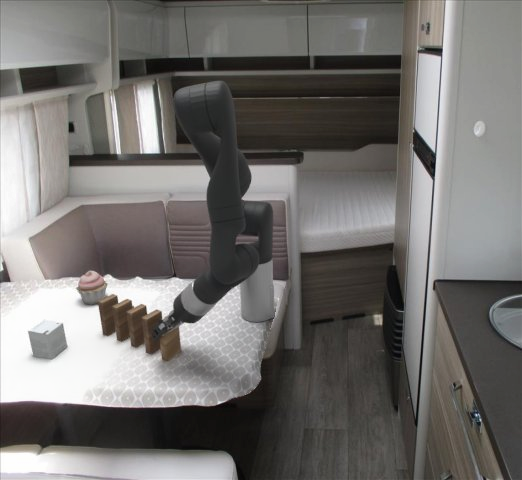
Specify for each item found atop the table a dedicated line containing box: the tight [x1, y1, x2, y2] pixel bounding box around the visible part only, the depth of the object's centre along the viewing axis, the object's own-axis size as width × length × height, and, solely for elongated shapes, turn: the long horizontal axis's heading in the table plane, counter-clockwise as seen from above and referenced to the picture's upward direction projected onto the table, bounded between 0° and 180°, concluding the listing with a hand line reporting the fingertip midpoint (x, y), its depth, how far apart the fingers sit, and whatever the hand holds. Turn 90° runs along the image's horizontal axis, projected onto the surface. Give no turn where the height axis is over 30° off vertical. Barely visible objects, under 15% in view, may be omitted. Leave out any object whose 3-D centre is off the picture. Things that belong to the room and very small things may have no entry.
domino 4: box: [142, 309, 163, 356], centre depth 129 cm, size 2×5×10 cm, turn 145°
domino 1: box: [97, 293, 119, 337], centre depth 138 cm, size 2×5×10 cm, turn 145°
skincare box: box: [27, 319, 68, 360], centre depth 130 cm, size 6×6×7 cm
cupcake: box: [75, 270, 109, 305], centre depth 156 cm, size 9×9×10 cm
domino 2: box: [112, 298, 133, 343], centre depth 135 cm, size 2×5×10 cm, turn 145°
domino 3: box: [127, 303, 148, 349], centre depth 132 cm, size 2×5×10 cm, turn 145°
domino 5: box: [160, 323, 182, 362], centre depth 126 cm, size 2×5×10 cm, turn 146°
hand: (163, 331), depth 126 cm, fingers open, 6 cm apart
